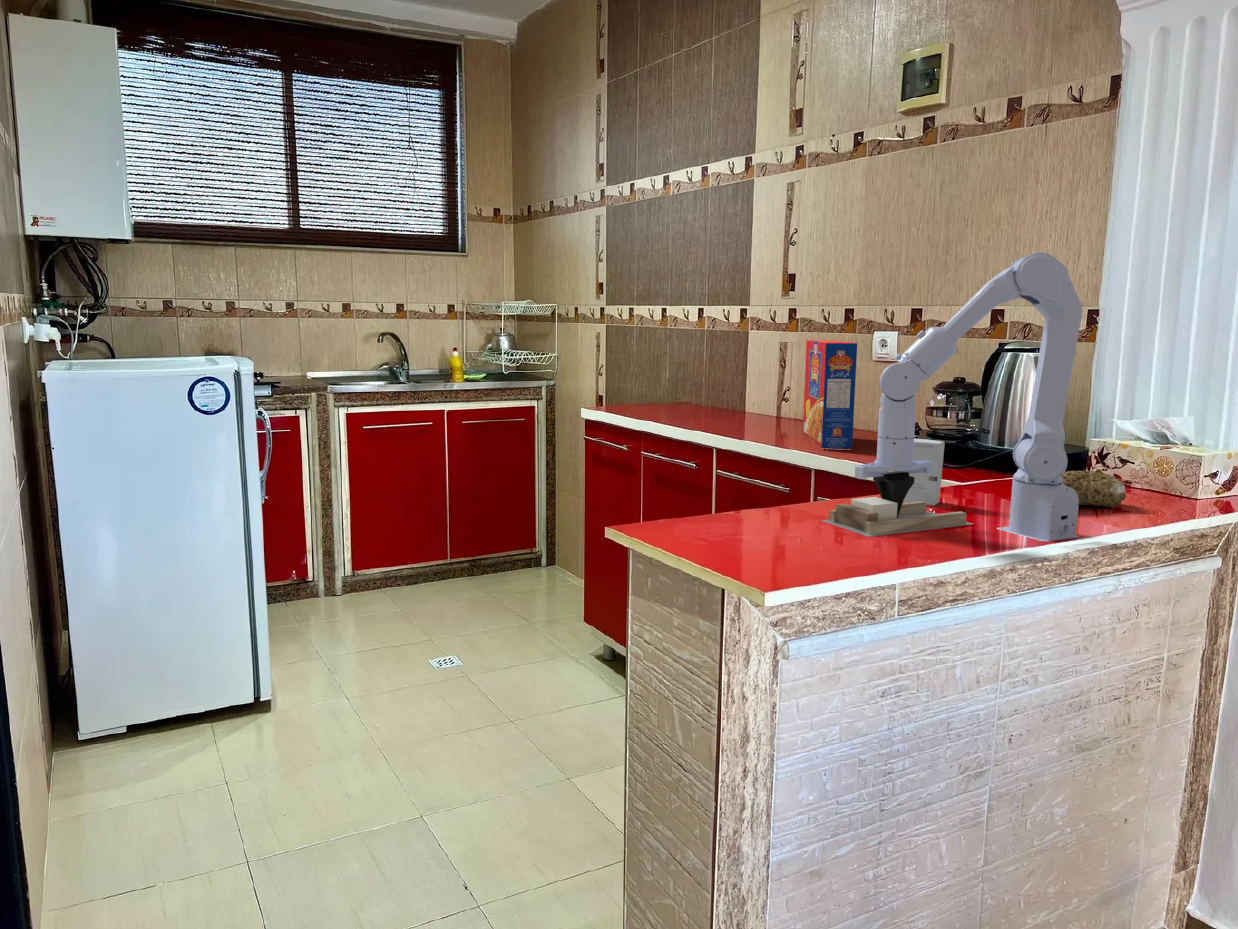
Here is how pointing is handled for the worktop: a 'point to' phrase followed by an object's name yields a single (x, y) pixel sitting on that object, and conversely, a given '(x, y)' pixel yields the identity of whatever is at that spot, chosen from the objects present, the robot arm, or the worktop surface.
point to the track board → (897, 531)
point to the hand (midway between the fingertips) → (891, 518)
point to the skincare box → (927, 483)
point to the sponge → (1095, 488)
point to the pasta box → (829, 393)
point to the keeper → (877, 507)
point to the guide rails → (872, 525)
